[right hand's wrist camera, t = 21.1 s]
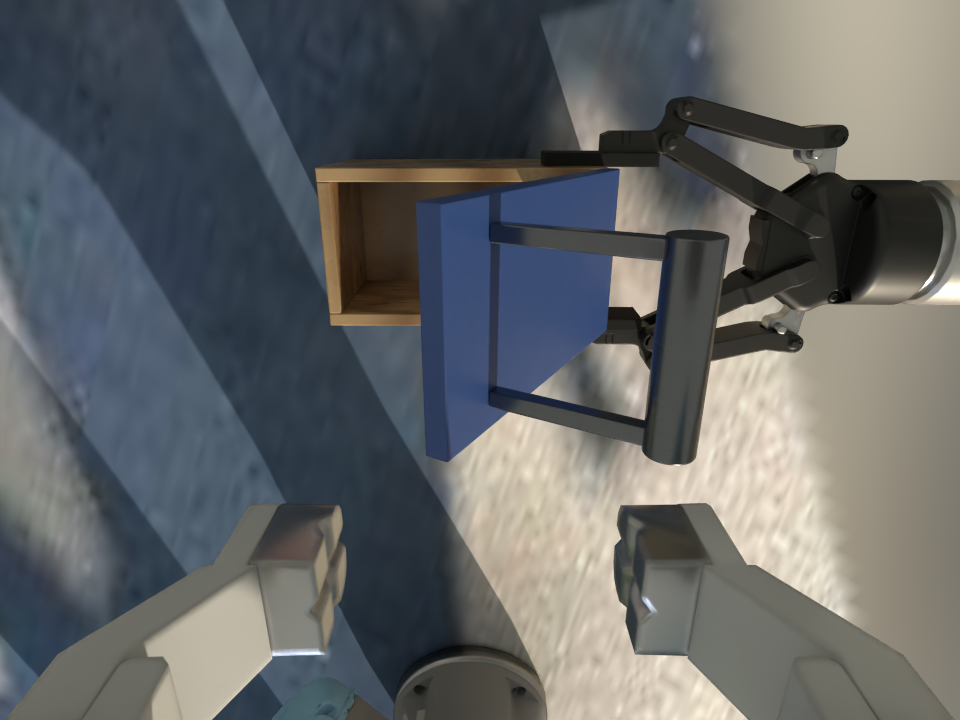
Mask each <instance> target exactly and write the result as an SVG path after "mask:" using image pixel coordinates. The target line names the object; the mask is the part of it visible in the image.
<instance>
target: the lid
mask: <svg viewBox="0 0 960 720" xmlns="http://www.w3.org/2000/svg"><path fill="white" fill-rule="evenodd" d="M619 171H620V170H619V169H613V168H601V169H596V170H590V171H584V172H579V173H573V174H567V175H562V176H556V177H551V178H545V179H539V180H534V181H528V182H523V183H517V184H511V185H506V186H500V187H494V188H489V189H483V190H478V191H472V192H466V193H461V194H455V195H449V196H444V197H438V198H433V199H427V200H421V201H417V202H416V217H417V242H418V267H419V292H420V317H421V342H422V366H423V391H424V416H425V441H426V455H427V456H429V457H432V458H435V459H438V460H441V461H445V462H449V461H450V460H451V459H452V458H454V457H455V456H456V455H457V454H458V453H460V452H461V451H462V450H463V449H464V448H466V447H467V446H468V445H469V444H470V443H472V442H473V441H474V440H475V439H476V438H478V437H479V436H480V435H481V434H482V433H484V432H485V431H486V430H487V429H488V428H490V427H491V426H492V425H493V424H494V423H496V422H497V421H498V420H499V419H500V418H502V417H503V416H504V415H505V414H506V413H508V412H512V413H516V414H520V415H524V416H527V417H531V418H535V419H539V420H543V421H547V422H551V423H555V424H559V425H563V426H567V427H571V428H575V429H578V430H582V431H586V432H590V433H594V434H598V435H602V436H606V437H610V438H614V439H618V440H622V441H625V442H629V443H633V444H637V445H641V446H642V451H643V453H644V454H645V455H646V456H647V457H648V458H650V459H651V460H653V461H656V462H658V463H661V464H666V465H675V466H677V465H686V464H689V463H691V462H693V461H694V460H695V458H696V454H697V448H698V441H699V435H700V428H701V422H702V415H703V408H704V402H705V395H706V389H707V382H708V376H709V369H710V362H711V356H712V349H713V343H714V336H715V330H716V323H717V316H718V310H719V303H720V297H721V290H722V284H723V277H724V270H725V264H726V257H727V251H728V244H729V236H728V235H726V234H723V233H719V232H713V231H704V230H675V231H670V232H667V233H666V235H655V234H644V233H632V232H620V231H615V220H616V208H617V196H618V183H619ZM613 256H619V257H628V258H638V259H647V260H657V261H662V270H661V279H660V288H659V297H658V306H657V315H656V323H655V332H654V341H653V350H652V359H651V368H650V377H649V386H648V395H647V403H646V412H645V420H641V419H636V418H632V417H628V416H624V415H619V414H615V413H611V412H606V411H602V410H598V409H594V408H589V407H585V406H581V405H577V404H572V403H568V402H564V401H560V400H555V399H551V398H547V397H543V396H538V395H534V394H530V393H532V392H533V391H534V390H535V389H536V388H538V387H539V386H540V385H541V384H542V383H544V382H545V381H546V380H547V379H548V378H550V377H551V376H552V375H553V374H554V373H556V372H557V371H558V370H559V369H561V368H562V367H563V366H564V365H565V364H567V363H568V362H569V361H570V360H571V359H573V358H574V357H575V356H576V355H577V354H579V353H580V352H581V351H582V350H583V349H585V348H586V347H587V346H588V345H589V344H591V343H592V342H593V341H594V340H595V339H597V338H598V337H599V336H600V335H601V334H603V333H604V332H605V331H606V330H607V319H608V307H609V294H610V282H611V270H612V257H613Z"/></svg>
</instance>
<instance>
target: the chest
mask: <svg viewBox="0 0 960 720" xmlns="http://www.w3.org/2000/svg"><path fill="white" fill-rule="evenodd" d="M601 168H608V167H605V166H544V165H542V164H541V159H349V160H345V161H341V162H337V163H333V164H329V165H325V166H321V167H317V168H315V173H316V181H317V192H318V202H319V212H320V222H321V232H322V242H323V252H324V263H325V273H326V283H327V293H328V303H329V312H330V324H331V325H421V317H420V292H419V267H418V242H417V217H416V202H417V201H421V200H427V199H433V198H438V197H444V196H449V195H455V194H461V193H466V192H472V191H478V190H483V189H489V188H494V187H500V186H506V185H511V184H517V183H523V182H528V181H534V180H539V179H545V178H551V177H556V176H562V175H567V174H573V173H579V172H584V171H590V170H596V169H601Z"/></svg>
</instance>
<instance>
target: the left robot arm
mask: <svg viewBox="0 0 960 720" xmlns="http://www.w3.org/2000/svg"><path fill="white" fill-rule="evenodd" d="M665 111H666V112H665V115H664V117H663V119H662V121H661V123H660V125H659V126H658V127H657V128H655V129H653V130H649V131H606V132H604V133H601V134H600V138H599V151H541V164H542V165H544V166H605V167H658V166H659V156H660V154H662V155H664V156H665V157H667V158H669V159H670V160H672V161H674V162H676V163H677V164H679V165H681V166H682V167H684V168H686V169H688V170H689V171H691V172H693V173H695V174H696V175H698V176H700V177H701V178H703V179H705V180H707V181H708V182H710V183H712V184H714V185H715V186H717V187H719V188H720V189H722V190H724V191H726V192H727V193H729V194H731V195H732V196H734V197H736V198H738V199H739V200H740V201H741V202H743V203H745V204H747V205H748V206H750V207H752V208H753V209H755V210H757V211H756V213H755V215H751V217H750V223H749V235H750V241H749V243H748V246H747V248H746V250H745V253H744V259H743V265H745V266H744V267H742V268H740V269H738V270H736V271H733V272H731V273H730V274H728V275H727V277H726V278H725V279H723V284H722V290H721V297H720V303H719V310H718V316H717V317H719V316H721V315H724V314H726V313H728V312H730V311H732V310H735V309H737V308H739V307H741V306H744V305H746V304H756V303H758V302H761V301H763V300H765V299H767V298H770V297H772V296H774V297H775V298H776V299H778V300H779V301H780V302H781V303H782V304H784V306H783V308H782V309H781V310H780V311H779V312H777V313H775V314H769V315H765V316H764V317H763V318H762V322H761V321H750V322H743V323H738V324H733V325H729V326H724V327H719V328H716V330H715V336H714V343H713V349H712V356H711V361H716V360H721V359H725V358H730V357H735V356H740V355H744V354H749V353H754V352H759V351H763V350H769V351H778V352H787V353H795V352H797V351H799V350H800V349H801V348H802V346H803V339H802V338H801V337H800V336H799V335H797V334H798V331H799V328H800V325H801V322H802V319H803V316H804V313H805V311H809V310H811V309H813V308H815V307H818V306H821V305H824V304H878V305H890V304H898V303H902V304H908V305H960V181H957V180H927V181H920V182H916V181H912V180H847V179H844V178H843V177H841V176H840V175H838V174H836V173H835V165H836V155H837V147H840V146H842V145H843V144H844V143H845V142H846V141H847V139H848V136H849V134H848V129H847V128H846V127H845V126H843V125H810V126H798V125H794V124H790V123H787V122H783V121H779V120H776V119H772V118H768V117H765V116H761V115H757V114H754V113H750V112H746V111H743V110H739V109H735V108H732V107H728V106H725V105H721V104H717V103H714V102H710V101H706V100H703V99H699V98H695V97H689V96H687V97H680V98H674V99H672V100H670V101H669V102H668V104H667V105H666V110H665ZM689 124H690V125H694V126H697V127H701V128H705V129H708V130H712V131H716V132H720V133H723V134H727V135H731V136H734V137H738V138H742V139H745V140H749V141H753V142H757V143H760V144H764V145H768V146H771V147H776V148H783V149H794V150H793V156H794V159H795V160H796V161H798V162H801V163H805V164H807V165H808V166H809V169H810V173H809V174H807V175H806V176H804V177H803V178H801V179H800V180H798V181H797V182H795V183H794V184H792V185H790V186H789V187H787V188H786V189H784V190H783V191H781V192H780V191H779V190H777V189H775V188H773V187H771V186H768V185H766V184H765V183H763V182H761V181H759V180H758V179H756V178H754V177H753V176H751V175H749V174H748V173H746V172H744V171H743V170H741V169H739V168H737V167H736V166H734V165H732V164H731V163H729V162H727V161H726V160H724V159H722V158H720V157H719V156H717V155H715V154H714V153H712V152H710V151H709V150H707V149H705V148H704V147H702V146H700V145H698V144H697V143H695V142H693V141H692V140H690V139H688V138H687V137H685V136H684V135H685V133H686V131H687V128H688V126H689ZM656 315H657V310H656V311H654V312H652V313H650V314H647V315H645V316H643V317H640V316H639V315H638V313H637V312H636V311H635V310H634V308H633V307H608V319H607V330H606V331H605V332H604V333H603V334H601V335H600V336H599V337H598V338H597V339H595V340H594V341H593V342H592V343H595V344H634V345H637V346H638V347H639V350H640V352H639V353H640V356H641V357H642V359H643V360H644V362H645V364H646V365H647V367H648V368H649V370H650V368H651V359H652V350H653V341H654V332H655V323H656ZM271 720H389V719H387V718H386V717H384V716H383V715H382V714H381V713H379V712H378V711H377V710H375V709H374V708H373V707H372V706H370V705H369V704H368V703H367V702H365V701H364V700H363V699H362V698H360V697H359V696H358V695H357V691H356V690H355V689H354V688H350V689H349V688H348V687H347V686H345V685H344V684H342V683H341V682H339V681H338V680H336V679H334V678H329V677H326V678H320V679H317V680H315V681H312V682H311V683H309V684H307V685H306V686H304V687H303V688H302V689H300V690H299V691H298V692H297V693H296V694H295V695H294V696H293V697H292V698H290V699H289V700H288V701H287V702H286V703H285V704H284V705H283V706H282V708H281V709H280V710H279V711H278V712H277V713H276V714H275V716H274V717H273V718H272V719H271ZM394 720H547V707H546V697H545V692H544V688H543V686H542V684H541V682H540V680H539V678H538V677H537V676H536V674H535V673H534V672H533V671H532V670H531V669H530V668H529V667H528V666H527V665H526V664H524V663H523V662H522V661H520V660H518V659H517V658H515V657H513V656H511V655H509V654H507V653H504V652H501V651H498V650H494V649H490V648H484V647H474V646H463V647H454V648H448V649H444V650H440V651H437V652H434V653H432V654H430V655H427V656H426V657H424V658H422V659H420V660H419V661H417V662H416V663H415V664H414V665H412V666H411V667H410V668H409V669H408V670H407V672H406V673H405V674H404V675H403V677H402V679H401V681H400V683H399V685H398V689H397V693H396V699H395V705H394Z"/></svg>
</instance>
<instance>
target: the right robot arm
mask: <svg viewBox="0 0 960 720" xmlns="http://www.w3.org/2000/svg"><path fill="white" fill-rule="evenodd" d="M342 527H343V520H342V513H341V508H340V507H339V505H327V504H279V503H255V504H253V505H251V506H249V507H248V508H247V510H246V511H245V513H244V515H243V516H242V518H241V520H240V521H239V523H238V525H237V526H236V528H235V530H234V531H233V533H232V534H231V536H230V538H229V539H228V541H227V543H226V544H225V546H224V548H223V549H222V551H221V553H220V554H219V556H218V558H217V559H216V561H215V562H214V564H213V565H204V566H202V567H200V568H199V569H197V570H195V571H194V572H192V573H190V574H189V575H187V576H185V577H184V578H182V579H181V580H179V581H177V582H176V583H174V584H172V585H171V586H169V587H167V588H166V589H164V590H162V591H161V592H159V593H157V594H156V595H154V596H153V597H151V598H149V599H148V600H146V601H144V602H143V603H141V604H139V605H138V606H136V607H134V608H133V609H131V610H129V611H128V612H126V613H125V614H123V615H121V616H120V617H118V618H116V619H115V620H113V621H111V622H110V623H108V624H106V625H105V626H103V627H102V628H100V629H98V630H97V631H95V632H93V633H92V634H90V635H88V636H87V637H85V638H83V639H82V640H80V641H78V642H77V643H75V644H74V645H72V646H70V647H69V648H67V649H65V650H64V651H62V652H60V653H59V654H57V656H56V657H55V658H54V659H53V661H52V662H51V663H50V664H49V666H48V667H47V668H46V670H45V671H44V672H43V673H42V675H41V676H40V677H39V678H38V680H37V681H36V682H35V683H34V685H33V686H32V687H31V688H30V690H29V691H28V692H27V693H26V695H25V696H24V697H23V698H22V700H21V701H20V702H19V703H18V705H17V706H16V707H15V708H14V710H13V711H12V712H11V713H10V715H9V716H8V717H7V718H6V720H212V719H213V718H214V717H215V716H216V715H217V714H218V713H219V712H220V711H221V710H222V709H223V708H224V707H225V706H226V705H227V704H228V703H229V702H230V701H231V700H232V699H233V698H234V697H235V696H236V695H237V694H238V693H239V692H240V691H241V690H242V689H243V688H244V687H245V686H246V685H247V684H248V683H249V682H250V681H251V680H252V679H253V678H254V677H255V676H256V675H257V674H258V673H259V672H260V671H261V670H262V669H263V668H264V667H265V666H266V665H267V664H268V663H269V662H270V661H271V660H272V656H283V655H317V654H325V652H326V649H327V646H328V642H329V639H330V635H331V632H332V629H333V625H334V622H335V621H334V612H333V607H334V606H335V605H337V604H338V603H339V602H340V601H341V598H342V594H343V590H344V585H345V577H346V548H345V545H344V544H343V543H342V542H341V541H340V540H339V536H340V533H341V530H342ZM617 527H618V530H619V533H620V536H621V540H620V541H619V542H618V543H617V544H616V545H615V549H614V579H615V585H616V590H617V594H618V598H619V601H620V602H621V603H622V604H623V605H625V606H626V607H627V612H626V621H625V622H626V625H627V629H628V632H629V635H630V639H631V642H632V645H633V649H634V652H635V654H641V655H677V656H688V659H689V660H690V661H691V662H692V663H693V664H694V665H695V666H696V667H697V668H698V669H699V670H700V671H701V672H702V673H703V674H704V675H705V676H706V677H707V678H708V679H709V680H710V681H711V682H712V683H713V684H714V685H715V686H716V687H717V688H718V689H719V691H720V692H721V693H722V694H723V695H724V696H725V697H726V698H727V699H728V700H729V701H730V702H731V703H732V704H733V705H734V706H735V707H736V708H737V709H738V710H739V711H740V712H741V713H742V714H743V715H744V716H745V717H746V718H747V719H748V720H954V719H953V717H952V716H951V715H950V713H949V712H948V711H947V710H946V708H945V707H944V706H943V705H942V703H941V702H940V701H939V700H938V698H937V697H936V696H935V694H934V693H933V692H932V691H931V689H930V688H929V687H928V686H927V684H926V683H925V682H924V681H923V679H922V678H921V677H920V675H919V674H918V673H917V672H916V670H915V669H914V668H913V667H912V665H911V664H910V663H909V662H908V660H907V659H906V658H905V657H904V655H902V654H901V653H899V652H897V651H896V650H894V649H893V648H891V647H889V646H888V645H886V644H884V643H883V642H881V641H879V640H878V639H876V638H875V637H873V636H871V635H870V634H868V633H866V632H865V631H863V630H861V629H860V628H858V627H856V626H855V625H853V624H852V623H850V622H848V621H847V620H845V619H843V618H842V617H840V616H838V615H837V614H835V613H834V612H832V611H830V610H829V609H827V608H825V607H824V606H822V605H820V604H819V603H817V602H815V601H814V600H812V599H811V598H809V597H807V596H806V595H804V594H802V593H801V592H799V591H797V590H796V589H794V588H793V587H791V586H789V585H788V584H786V583H784V582H783V581H781V580H779V579H778V578H776V577H774V576H773V575H771V574H770V573H768V572H766V571H765V570H763V569H761V568H760V567H758V566H756V565H747V564H746V563H745V561H744V559H743V558H742V556H741V554H740V553H739V551H738V550H737V548H736V546H735V545H734V543H733V541H732V540H731V538H730V537H729V535H728V533H727V532H726V530H725V528H724V527H723V525H722V523H721V522H720V520H719V519H718V517H717V515H716V514H715V512H714V510H713V509H712V507H711V506H710V505H708V504H707V503H693V504H677V505H621V506H620V509H619V512H618V520H617Z"/></svg>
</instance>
